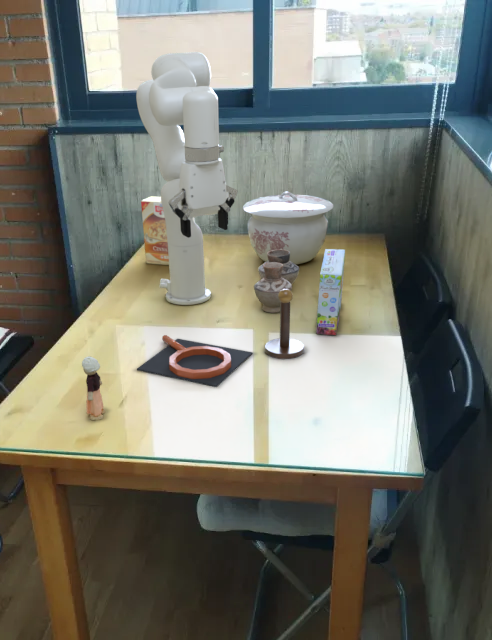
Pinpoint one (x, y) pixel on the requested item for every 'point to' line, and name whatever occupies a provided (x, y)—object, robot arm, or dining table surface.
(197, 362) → the mat
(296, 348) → the coat peg
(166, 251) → the coffeecake box
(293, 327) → the dining table surface
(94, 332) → the dining table surface
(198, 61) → the robot arm
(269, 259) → the pottery
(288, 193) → the chamber pot
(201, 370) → the orange ring with handle
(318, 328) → the snack box
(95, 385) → the grandmother figurine
